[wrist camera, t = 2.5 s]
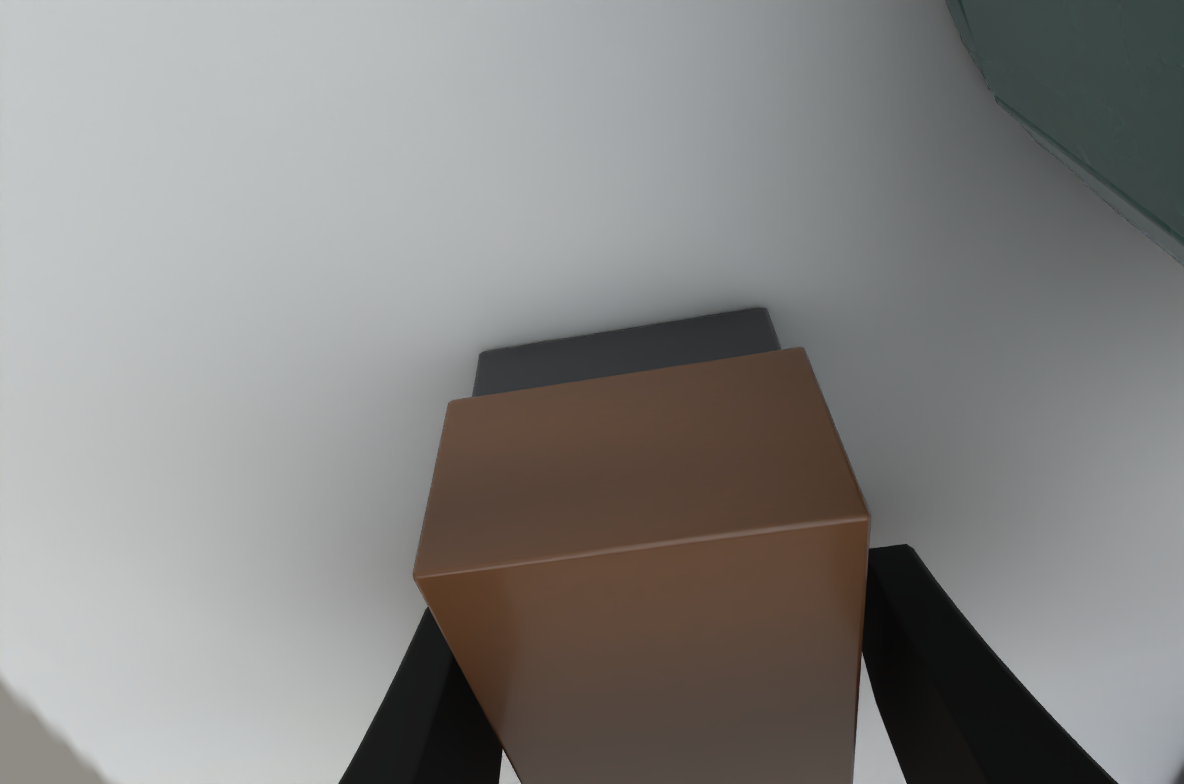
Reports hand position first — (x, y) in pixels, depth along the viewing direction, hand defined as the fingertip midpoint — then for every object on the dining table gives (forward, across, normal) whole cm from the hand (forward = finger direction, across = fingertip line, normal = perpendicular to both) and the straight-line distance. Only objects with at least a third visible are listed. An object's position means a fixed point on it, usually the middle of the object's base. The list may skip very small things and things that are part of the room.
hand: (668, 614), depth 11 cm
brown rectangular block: (+1, 0, 0) cm, 1 cm away
